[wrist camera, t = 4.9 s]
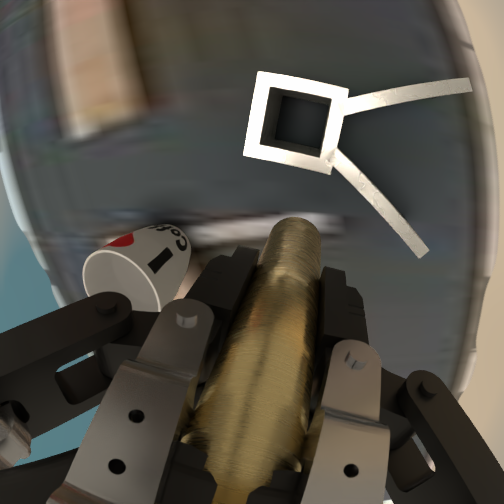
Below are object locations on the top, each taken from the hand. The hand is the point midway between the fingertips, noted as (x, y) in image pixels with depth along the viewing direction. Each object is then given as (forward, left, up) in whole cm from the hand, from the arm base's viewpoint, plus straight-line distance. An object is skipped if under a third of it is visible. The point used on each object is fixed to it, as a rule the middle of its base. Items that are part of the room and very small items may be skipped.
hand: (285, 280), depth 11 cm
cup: (+10, -13, -17) cm, 24 cm away
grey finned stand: (-5, +3, -17) cm, 18 cm away
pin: (0, 0, -4) cm, 4 cm away
